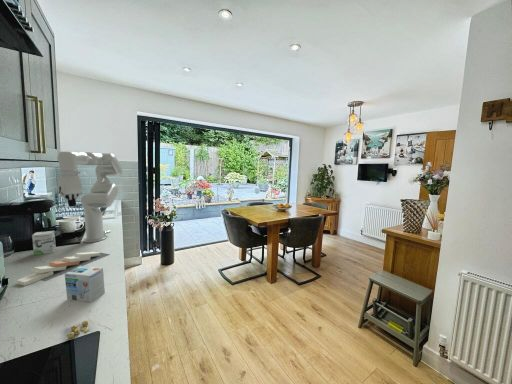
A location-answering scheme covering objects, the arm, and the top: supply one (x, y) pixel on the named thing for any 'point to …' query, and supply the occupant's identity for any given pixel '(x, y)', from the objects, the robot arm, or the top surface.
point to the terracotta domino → (63, 263)
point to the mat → (74, 266)
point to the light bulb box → (84, 283)
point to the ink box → (44, 242)
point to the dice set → (78, 329)
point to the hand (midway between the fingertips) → (72, 206)
